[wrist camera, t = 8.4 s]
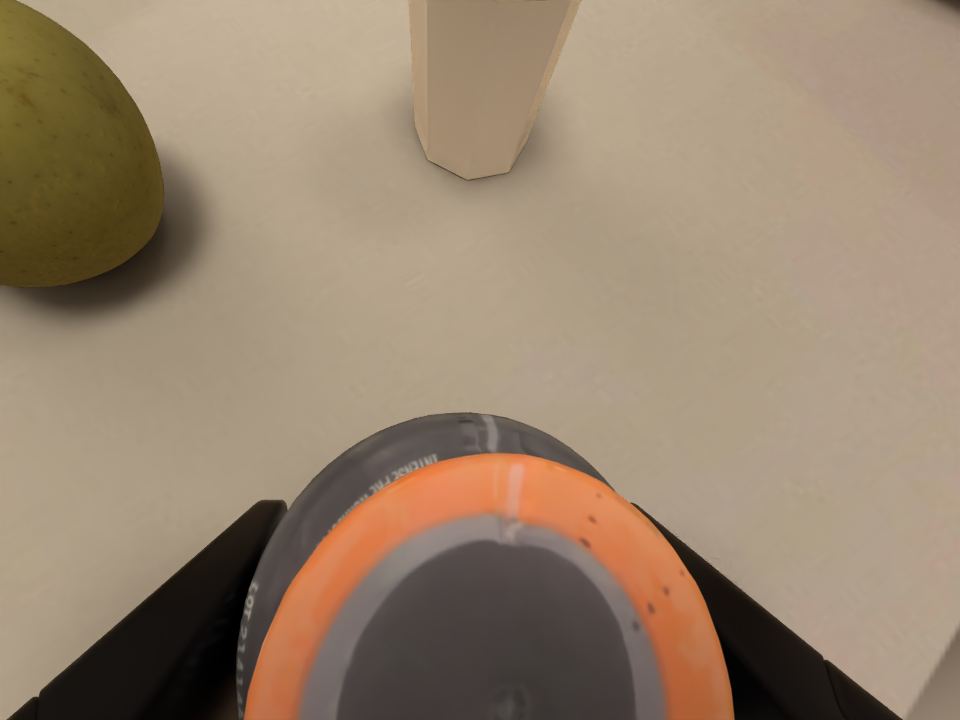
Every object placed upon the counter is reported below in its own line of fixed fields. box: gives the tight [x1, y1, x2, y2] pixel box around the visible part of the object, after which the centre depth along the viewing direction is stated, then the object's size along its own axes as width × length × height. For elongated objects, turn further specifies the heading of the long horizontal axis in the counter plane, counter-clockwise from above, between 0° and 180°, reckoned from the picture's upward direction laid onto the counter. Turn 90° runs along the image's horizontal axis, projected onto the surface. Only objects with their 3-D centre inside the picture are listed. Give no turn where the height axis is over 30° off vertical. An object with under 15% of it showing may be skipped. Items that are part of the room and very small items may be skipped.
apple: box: [0, 0, 164, 288], centre depth 13 cm, size 8×8×7 cm
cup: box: [409, 0, 581, 180], centre depth 15 cm, size 7×7×11 cm
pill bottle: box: [236, 413, 735, 720], centre depth 9 cm, size 6×6×11 cm
